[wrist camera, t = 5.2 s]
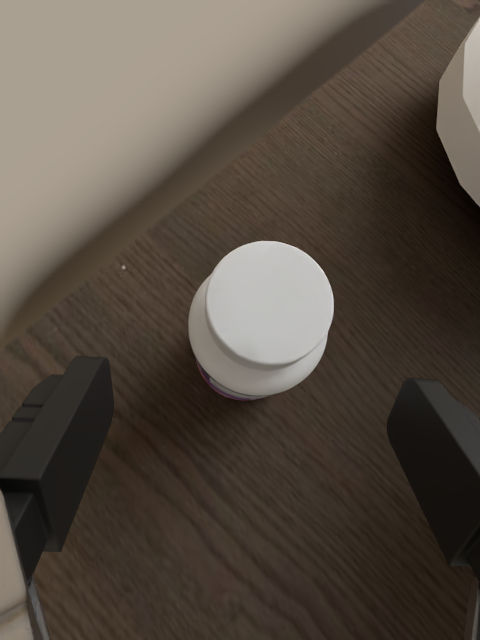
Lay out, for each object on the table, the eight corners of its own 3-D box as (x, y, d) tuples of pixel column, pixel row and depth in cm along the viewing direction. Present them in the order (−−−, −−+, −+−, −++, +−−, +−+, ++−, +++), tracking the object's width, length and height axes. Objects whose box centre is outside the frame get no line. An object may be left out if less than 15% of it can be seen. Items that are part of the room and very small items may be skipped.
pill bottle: (207, 297, 21) (205, 202, 11) (297, 318, 21) (367, 240, 12) (184, 390, 19) (160, 367, 10) (281, 411, 20) (346, 408, 10)
